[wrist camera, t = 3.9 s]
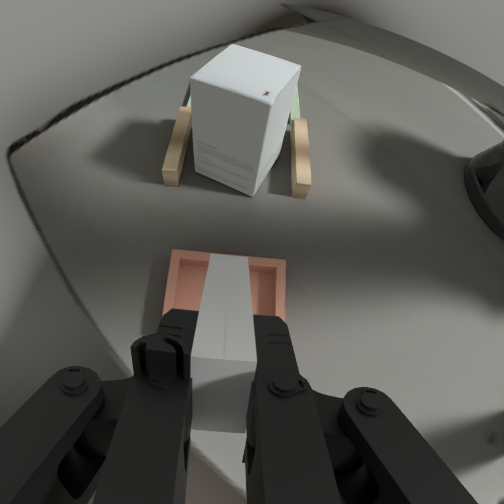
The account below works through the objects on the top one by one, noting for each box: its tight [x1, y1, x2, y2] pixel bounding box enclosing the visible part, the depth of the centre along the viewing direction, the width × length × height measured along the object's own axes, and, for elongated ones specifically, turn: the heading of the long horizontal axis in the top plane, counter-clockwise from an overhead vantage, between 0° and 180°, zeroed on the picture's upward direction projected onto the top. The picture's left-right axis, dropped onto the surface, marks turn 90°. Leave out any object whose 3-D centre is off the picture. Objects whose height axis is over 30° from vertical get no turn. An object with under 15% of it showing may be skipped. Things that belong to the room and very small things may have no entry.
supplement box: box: [190, 44, 301, 197], centre depth 29 cm, size 7×7×13 cm
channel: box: [162, 107, 311, 199], centre depth 34 cm, size 10×15×2 cm, turn 87°
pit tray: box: [162, 249, 286, 322], centre depth 27 cm, size 8×10×2 cm
